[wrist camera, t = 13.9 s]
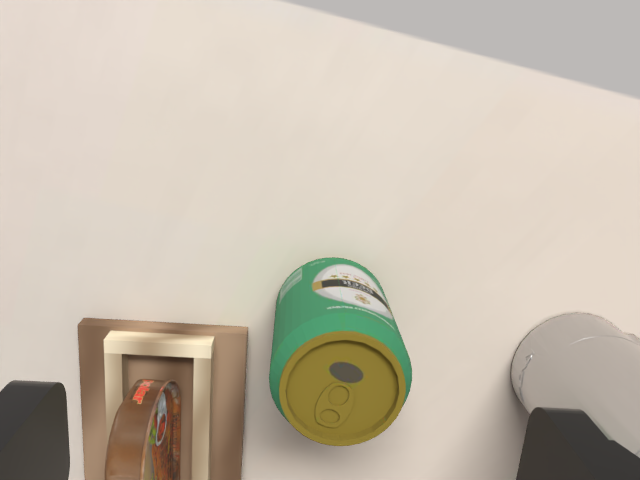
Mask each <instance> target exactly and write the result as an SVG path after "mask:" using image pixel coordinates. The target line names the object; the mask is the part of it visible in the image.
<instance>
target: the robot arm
mask: <svg viewBox="0 0 640 480" xmlns="http://www.w3.org/2000/svg"><path fill="white" fill-rule="evenodd" d="M511 378H512V384H513V388H514V390H515V392H516V395H517V397H518V398H519V400H520V401H521V403H522V404H523V405H524V407H525V408H526V410H527V411H528V413H529V414H530V417H529V420H528V425H527V430H526V435H525V440H524V444H523V449H522V454H521V459H520V464H519V469H518V473H517V478H516V480H640V339H639V338H638V337H636V336H635V335H633V334H625V333H623V332H622V331H620V330H619V329H618V328H617V327H615V326H614V325H613V324H612V323H610V322H608V321H607V320H605V319H603V318H601V317H599V316H595V315H592V314H586V313H571V314H564V315H560V316H557V317H554V318H551V319H549V320H548V321H546V322H544V323H542V324H540V325H539V326H538V327H536V328H535V329H534V330H533V331H531V332H530V333H529V334H528V335H527V337H526V338H525V339H524V340H523V341H522V342H521V344H520V346H519V348H518V349H517V351H516V353H515V356H514V359H513V363H512V370H511ZM69 469H70V454H69V435H68V417H67V399H66V391H65V388H64V386H63V384H62V383H59V382H39V381H18V380H14V381H11V382H10V383H8V384H7V385H6V386H5V387H4V388H3V390H2V391H1V392H0V480H68V477H69Z"/></svg>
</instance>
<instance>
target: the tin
mask: <svg viewBox="0 0 640 480" xmlns="http://www.w3.org/2000/svg"><path fill="white" fill-rule="evenodd" d="M180 448H181V396H180V390H179V386H178V384H177V382H176V381H175V380H168V381H166V380H154V379H140V380H137V381H136V382H135V384H134V385H133V386H132V387H131V389H130V390H129V392H128V394H127V395H126V397H125V399H124V400H123V402H122V403H121V405H120V406H119V408H118V410H117V412H116V415H115V418H114V421H113V424H112V428H111V432H110V436H109V440H108V445H107V452H106V460H105V480H180Z"/></svg>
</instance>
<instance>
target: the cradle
mask: <svg viewBox="0 0 640 480" xmlns="http://www.w3.org/2000/svg"><path fill="white" fill-rule="evenodd" d="M247 338H248V327H237V326H220V325H202V324H184V323H166V322H148V321H130V320H112V319H95V318H83V320H82V321H81V322H80V323H79V324H78V341H79V363H80V385H81V407H82V429H83V451H84V473H85V480H105V460H106V452H107V445H108V440H109V436H110V432H111V428H112V424H113V421H114V418H115V415H116V412H117V410H118V408H119V406H120V405H121V403H122V402H123V400H124V399H125V397H126V395H127V394H128V392H129V390H130V389H131V387H132V386H133V385H134V384H135V382H136V381H137V380H140V379H154V380H166V381H168V380H175V381H176V382H177V384H178V386H179V390H180V396H181V448H180V480H241V467H242V446H243V424H244V403H245V381H246V360H247Z"/></svg>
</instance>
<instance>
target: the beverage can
mask: <svg viewBox="0 0 640 480" xmlns="http://www.w3.org/2000/svg"><path fill="white" fill-rule="evenodd" d="M411 381H412V368H411V362H410V358H409V356H408V353H407V350H406V348H405V345H404V342H403V340H402V337H401V335H400V332H399V330H398V327H397V325H396V322H395V320H394V317H393V315H392V312H391V310H390V307H389V304H388V302H387V299H386V297H385V294H384V292H383V289H382V287H381V285H380V283H379V282H378V280H377V279H376V278H375V276H374V275H373V274H372V273H371V272H370V271H368V270H367V269H366V268H365V267H363V266H361V265H360V264H358V263H356V262H353V261H351V260H347V259H343V258H322V259H317V260H314V261H311V262H308V263H306V264H305V265H303V266H301V267H299V268H298V269H297V270H295V271H294V272H293V273H292V274H291V275H290V276H289V277H288V278H287V280H286V281H285V282H284V284H283V285H282V288H281V290H280V292H279V295H278V298H277V303H276V313H275V323H274V333H273V344H272V354H271V364H270V374H269V382H270V390H271V394H272V398H273V400H274V402H275V404H276V406H277V408H278V409H279V411H280V412H281V414H282V415H283V416H284V417H285V418H286V419H287V421H288V422H290V424H291V425H292V426H293V427H294V428H295V429H296V430H297V431H299V432H300V433H301V434H302V435H304V436H306V437H307V438H309V439H311V440H313V441H316V442H319V443H322V444H326V445H333V446H349V445H354V444H359V443H362V442H365V441H368V440H370V439H372V438H374V437H376V436H377V435H379V434H380V433H382V432H383V431H385V430H386V429H387V428H388V427H389V426H390V425H391V424H392V423H393V421H394V420H395V419H396V417H397V416H398V414H399V412H400V410H401V408H402V406H403V405H404V403H405V401H406V399H407V396H408V394H409V391H410V387H411Z"/></svg>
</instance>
